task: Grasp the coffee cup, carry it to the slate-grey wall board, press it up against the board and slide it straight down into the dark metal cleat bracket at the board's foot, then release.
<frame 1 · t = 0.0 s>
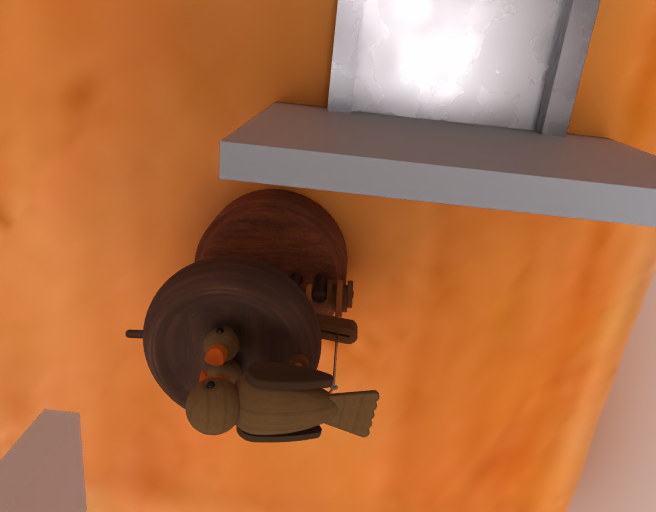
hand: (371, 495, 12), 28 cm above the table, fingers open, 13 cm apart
wall board: (439, 131, 37), on the table
music box: (266, 258, 41), on the table
cleat bracket: (458, 21, 34), on the table
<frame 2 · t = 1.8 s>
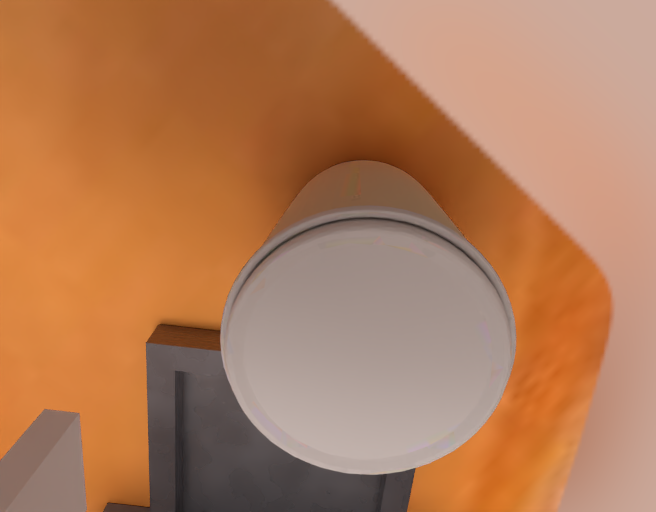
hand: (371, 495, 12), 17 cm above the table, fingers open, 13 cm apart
coffee cup: (362, 233, 28), on the table
cleat bracket: (284, 447, 33), on the table
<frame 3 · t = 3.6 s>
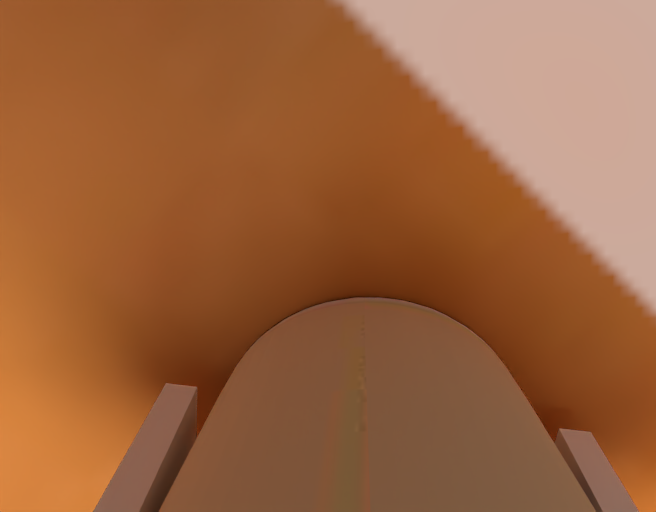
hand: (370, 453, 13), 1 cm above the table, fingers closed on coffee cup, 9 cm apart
coffee cup: (368, 423, 14), on the table, touching gripper
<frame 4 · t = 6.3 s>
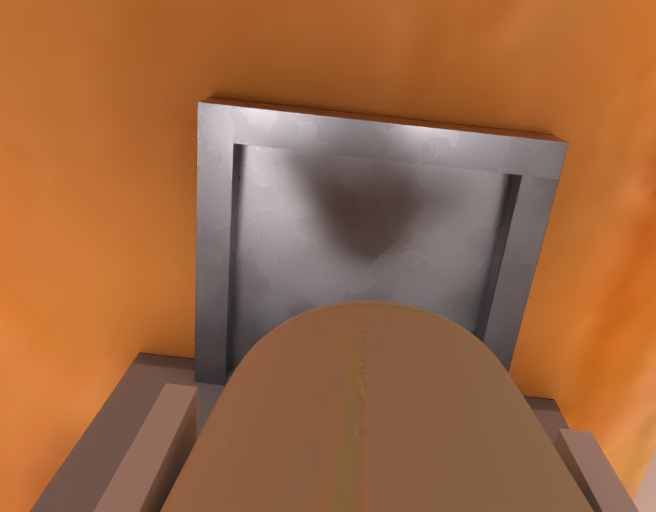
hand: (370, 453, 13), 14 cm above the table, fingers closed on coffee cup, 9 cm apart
coffee cup: (368, 426, 14), point 13 cm above the table, touching gripper
wall board: (344, 388, 29), on the table
cleat bracket: (359, 272, 27), on the table
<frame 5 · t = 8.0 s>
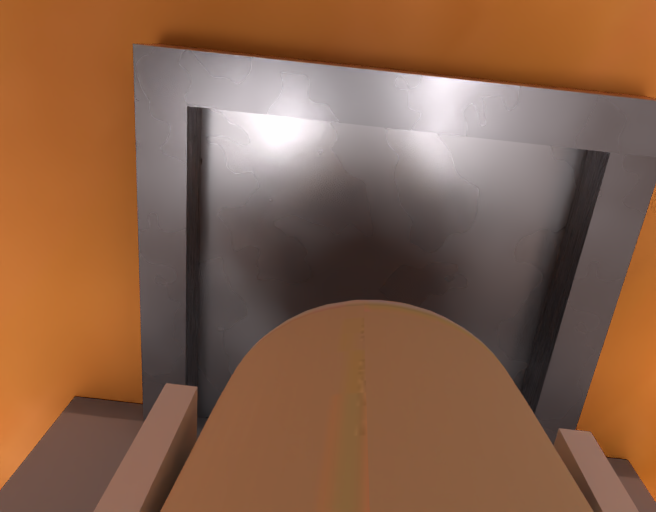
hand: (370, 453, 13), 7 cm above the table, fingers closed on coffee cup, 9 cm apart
coffee cup: (368, 425, 14), point 6 cm above the table, touching gripper
wall board: (347, 443, 22), on the table
cleat bracket: (369, 291, 20), on the table
when the fingers open (3 cm above the table, at t = 9.2 s): coffee cup drops 2 cm, resting on cleat bracket.
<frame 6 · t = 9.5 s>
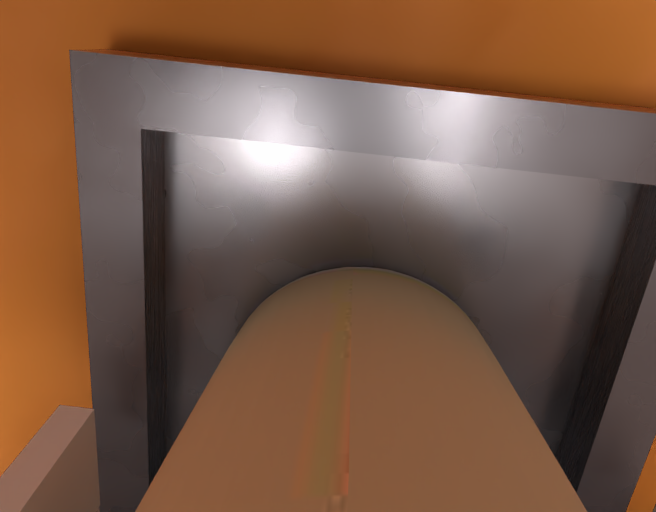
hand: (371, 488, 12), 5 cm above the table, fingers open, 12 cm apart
coffee cup: (357, 381, 16), resting on cleat bracket
cleat bracket: (371, 347, 16), on the table
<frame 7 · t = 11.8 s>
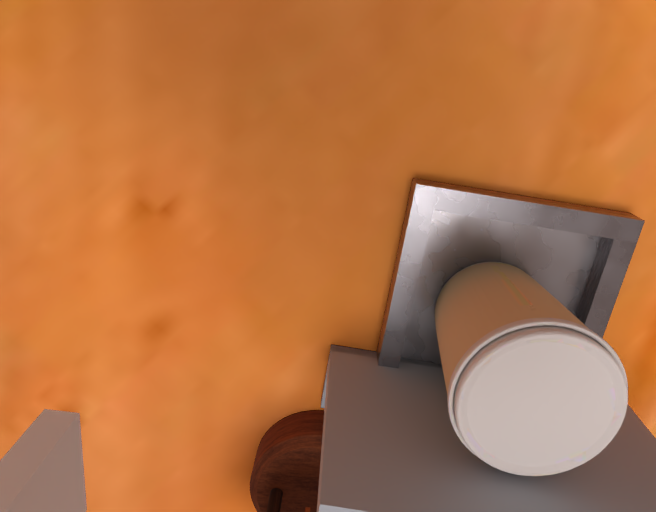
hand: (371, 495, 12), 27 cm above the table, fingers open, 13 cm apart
coffee cup: (486, 309, 40), resting on cleat bracket
wall board: (471, 375, 42), on the table
music box: (310, 462, 46), on the table
cleat bracket: (493, 295, 40), on the table
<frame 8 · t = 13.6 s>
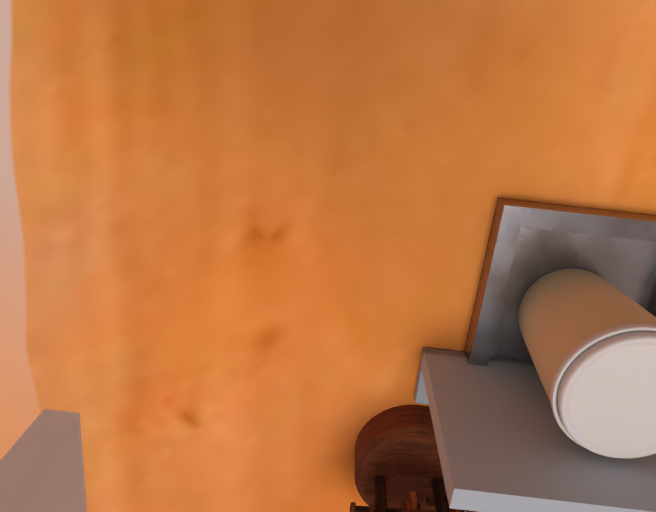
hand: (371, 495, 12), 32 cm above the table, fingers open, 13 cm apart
coffee cup: (564, 310, 45), resting on cleat bracket
wall board: (550, 369, 47), on the table
music box: (403, 451, 51), on the table
cleat bracket: (570, 297, 44), on the table
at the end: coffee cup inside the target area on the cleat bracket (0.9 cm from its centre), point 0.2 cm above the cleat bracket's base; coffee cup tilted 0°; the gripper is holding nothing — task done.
